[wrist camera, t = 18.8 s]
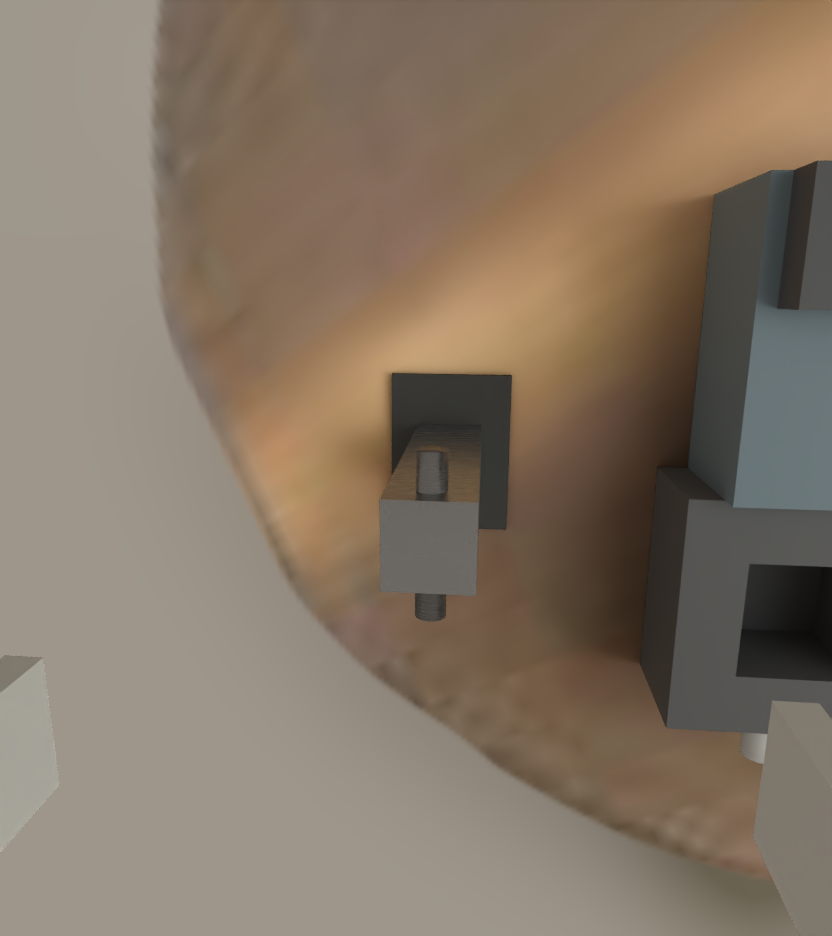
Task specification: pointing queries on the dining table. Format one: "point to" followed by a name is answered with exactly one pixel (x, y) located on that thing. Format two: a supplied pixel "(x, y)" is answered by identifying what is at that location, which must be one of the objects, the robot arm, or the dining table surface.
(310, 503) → the dining table surface
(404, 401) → the mat
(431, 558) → the gray block with peg
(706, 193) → the dining table surface
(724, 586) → the block with square socket
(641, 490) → the dining table surface
